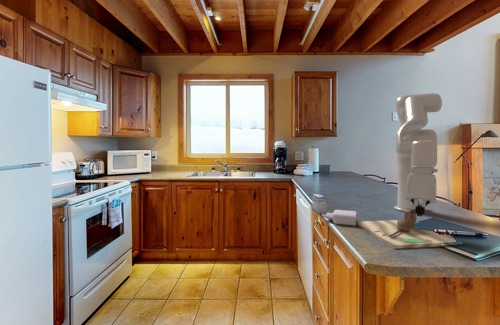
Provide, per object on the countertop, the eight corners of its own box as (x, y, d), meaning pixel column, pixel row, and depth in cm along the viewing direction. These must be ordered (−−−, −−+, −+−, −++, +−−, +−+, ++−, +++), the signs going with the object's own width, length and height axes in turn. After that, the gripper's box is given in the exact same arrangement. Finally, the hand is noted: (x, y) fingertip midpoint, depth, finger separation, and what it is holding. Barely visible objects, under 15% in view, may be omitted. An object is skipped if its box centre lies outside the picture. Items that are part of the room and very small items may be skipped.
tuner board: (411, 222, 115) (411, 218, 115) (463, 245, 90) (463, 241, 89) (355, 224, 113) (355, 221, 113) (393, 248, 87) (393, 244, 87)
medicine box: (312, 209, 138) (312, 194, 137) (320, 209, 138) (320, 193, 138) (317, 214, 130) (317, 197, 130) (325, 213, 131) (325, 197, 130)
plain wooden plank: (408, 222, 110) (409, 206, 110) (420, 224, 107) (421, 208, 106) (383, 235, 95) (384, 217, 95) (396, 239, 92) (396, 220, 91)
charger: (323, 217, 125) (356, 220, 119) (320, 222, 117) (355, 226, 111) (323, 207, 125) (356, 210, 119) (320, 212, 116) (356, 216, 110)
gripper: (445, 171, 101) (443, 216, 103) (401, 169, 110) (400, 210, 112) (444, 173, 95) (442, 221, 97) (398, 170, 105) (397, 214, 106)
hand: (419, 215), depth 104 cm, fingers closed
